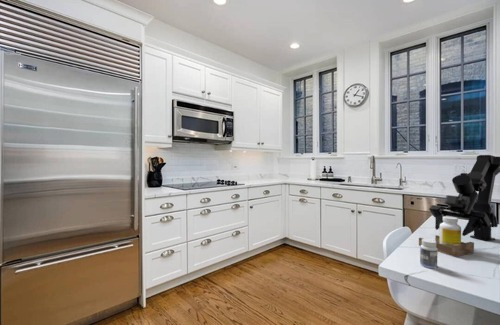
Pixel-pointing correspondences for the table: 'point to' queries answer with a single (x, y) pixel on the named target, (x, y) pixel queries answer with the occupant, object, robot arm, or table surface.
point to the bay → (453, 248)
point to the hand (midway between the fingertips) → (449, 232)
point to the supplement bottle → (450, 231)
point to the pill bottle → (428, 253)
